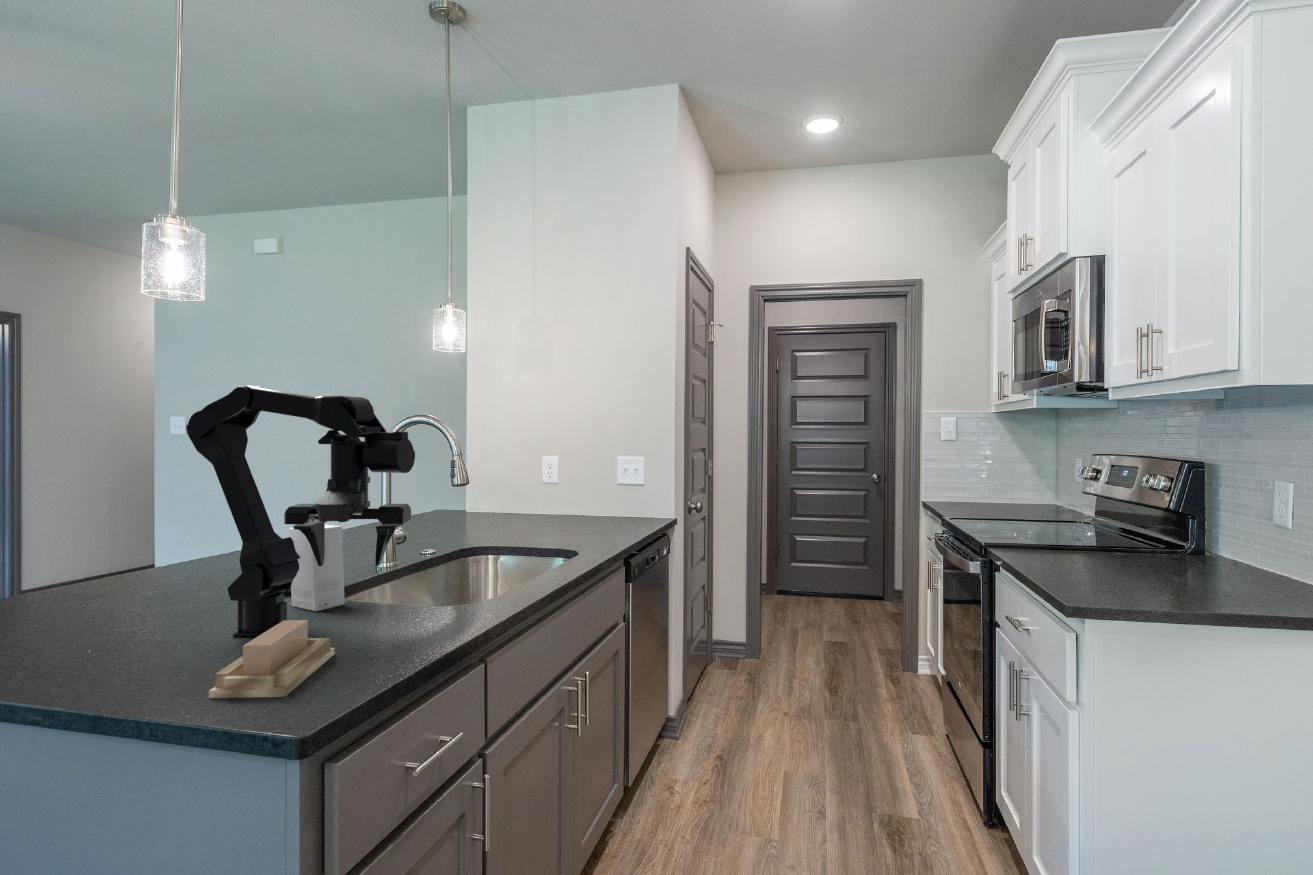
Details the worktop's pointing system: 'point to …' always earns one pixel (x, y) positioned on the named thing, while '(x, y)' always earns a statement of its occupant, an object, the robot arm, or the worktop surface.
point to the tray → (277, 685)
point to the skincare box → (319, 572)
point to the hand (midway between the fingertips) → (349, 565)
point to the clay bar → (275, 648)
